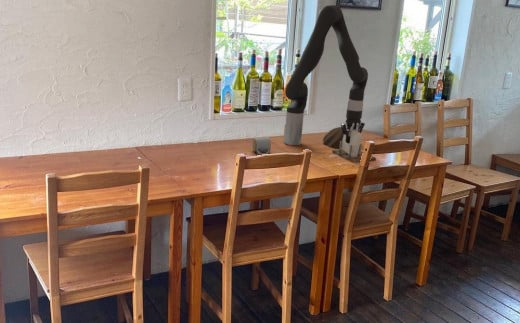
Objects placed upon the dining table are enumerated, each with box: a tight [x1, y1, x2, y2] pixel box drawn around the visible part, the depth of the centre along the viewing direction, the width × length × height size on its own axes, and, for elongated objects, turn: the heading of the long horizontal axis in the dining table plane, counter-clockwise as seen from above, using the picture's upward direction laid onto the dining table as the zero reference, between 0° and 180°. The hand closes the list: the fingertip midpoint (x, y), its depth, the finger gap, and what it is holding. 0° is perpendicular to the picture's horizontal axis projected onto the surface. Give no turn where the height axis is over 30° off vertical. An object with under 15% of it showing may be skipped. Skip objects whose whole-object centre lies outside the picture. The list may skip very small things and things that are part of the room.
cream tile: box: [342, 127, 364, 157], centre depth 242 cm, size 10×3×12 cm, turn 28°
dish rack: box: [331, 141, 377, 164], centre depth 244 cm, size 18×14×7 cm
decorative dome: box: [322, 126, 344, 150], centre depth 265 cm, size 19×20×10 cm
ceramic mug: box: [252, 136, 272, 156], centre depth 240 cm, size 11×8×8 cm
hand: (350, 142), depth 242 cm, fingers closed on cream tile, 3 cm apart
